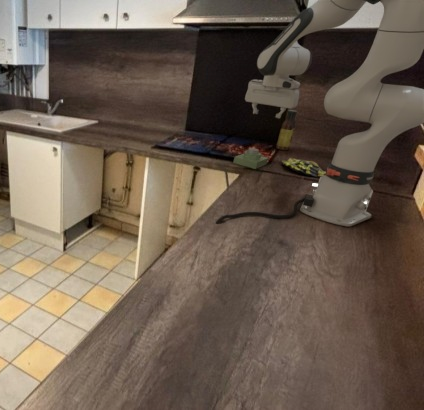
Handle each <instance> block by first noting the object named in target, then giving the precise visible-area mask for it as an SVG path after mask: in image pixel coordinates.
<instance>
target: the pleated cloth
mask: <svg viewBox="0 0 424 410" xmlns="http://www.w3.org/2000/svg"><path fill="white" fill-rule="evenodd" d="M281 164H282V165H283V166H285V167H287V168H289V169H290V170H292V172H296V173H298V174H302V175H305V176H308V177H310V178H311V177H312V178H320V177H322V176H325V175H326V174H325V173H326V171H327V170H324V169H323V168H321V167H320V166H319V164H318V163H316V162H315V161H313V160H304V159H298V158H295V157H289V158H288V159H284V160H281Z"/></svg>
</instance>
